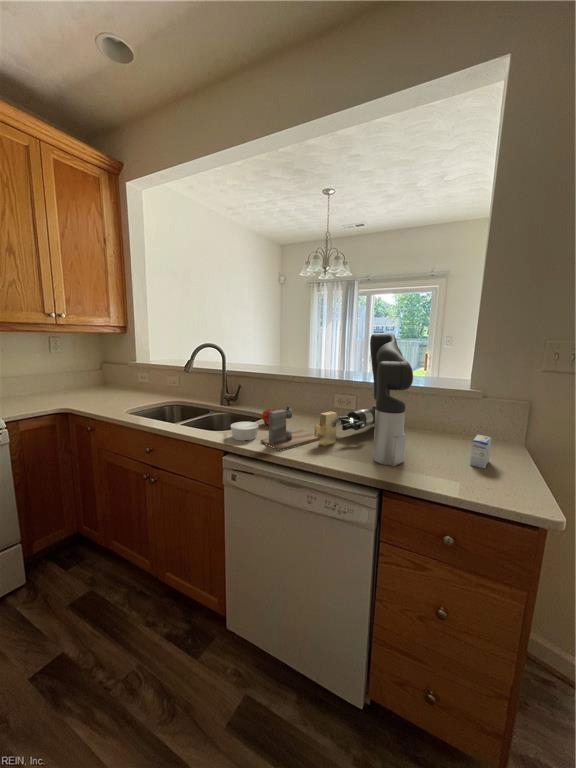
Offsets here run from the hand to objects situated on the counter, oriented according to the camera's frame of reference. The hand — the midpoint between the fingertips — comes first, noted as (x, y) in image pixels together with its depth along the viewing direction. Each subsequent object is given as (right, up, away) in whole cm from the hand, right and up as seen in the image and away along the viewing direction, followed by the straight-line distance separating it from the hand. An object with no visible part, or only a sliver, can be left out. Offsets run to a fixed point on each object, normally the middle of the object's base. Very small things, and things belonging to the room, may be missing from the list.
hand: (334, 425), depth 124 cm
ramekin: (-36, -6, +4) cm, 36 cm away
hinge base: (-17, -6, +1) cm, 18 cm away
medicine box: (+45, -10, -19) cm, 50 cm away
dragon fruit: (-25, -3, +22) cm, 34 cm away
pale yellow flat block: (-4, -7, -3) cm, 9 cm away
